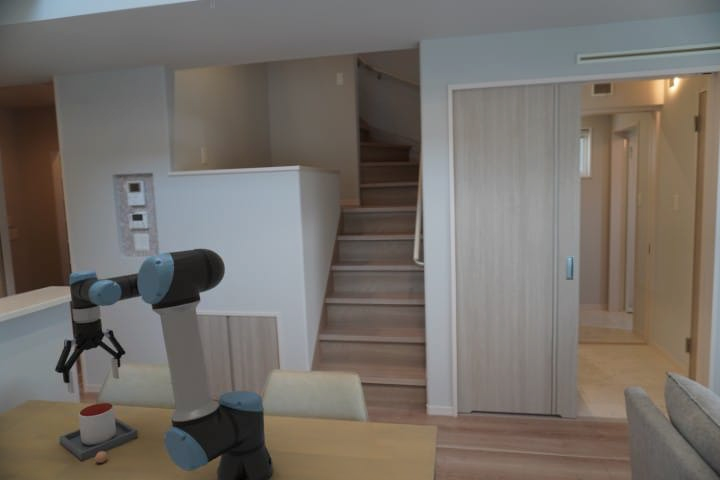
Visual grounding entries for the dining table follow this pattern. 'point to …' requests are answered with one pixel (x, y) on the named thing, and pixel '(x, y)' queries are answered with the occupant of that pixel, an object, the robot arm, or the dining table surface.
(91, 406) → the cup
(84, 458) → the tray
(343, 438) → the dining table surface
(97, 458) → the ball
